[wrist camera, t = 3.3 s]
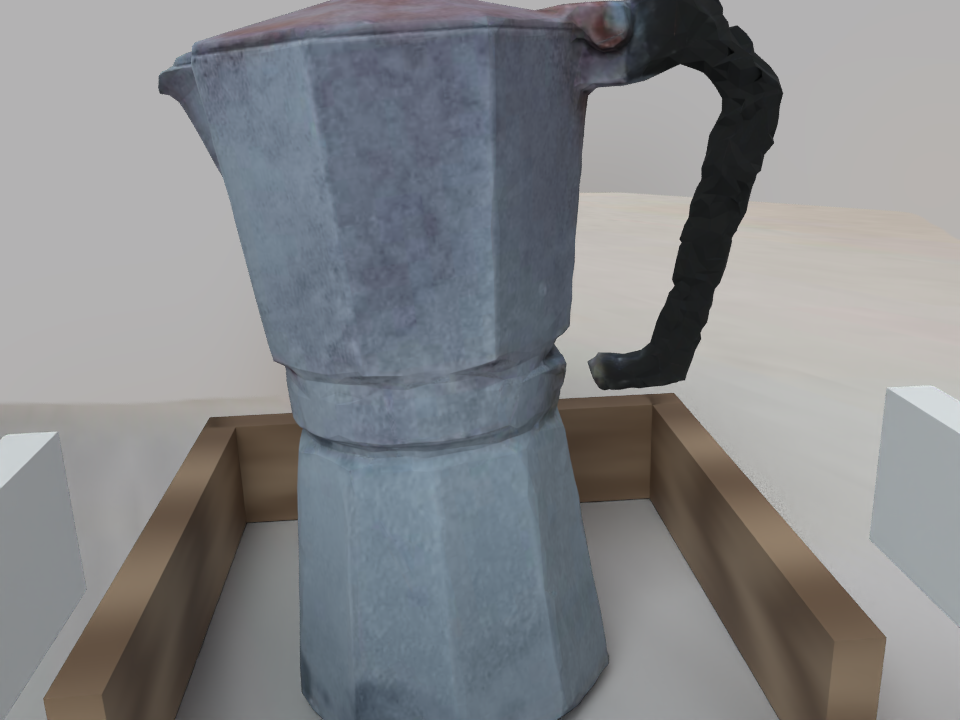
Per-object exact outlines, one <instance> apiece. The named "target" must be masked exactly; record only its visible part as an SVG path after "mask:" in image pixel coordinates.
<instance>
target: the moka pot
mask: <svg viewBox="0 0 960 720" xmlns="http://www.w3.org/2000/svg"><path fill="white" fill-rule="evenodd" d="M679 64H682V65H684V66H687V67H690V68H693V69H696V70H699V71H701V72H703V73H704V74H705V75H706V76H707V77H708V78H709V79H710V80H711V81H712V83H713V84H714V85H715V87H716V89H717V90H718V92H719V94H720V96H721V97H722V112H721V114H720V116H719V118H718V120H717V122H716V124H715V126H714V128H713V129H712V131H711V133H710V135H709V140H708V146H707V152H706V156H705V160H704V162H703V165H702V180H701V182H700V183H699V185H698V186H697V188H696V191H695V193H694V196H693V199H692V201H691V204H690V211H689V218H688V220H687V222H686V223H685V225H684V228H683V231H682V234H681V237H680V241H681V242H682V243H681V245H680V246H679V250H678V255H677V259H676V263H675V268H674V273H673V278H672V280H673V283H674V285H675V286H674V288H673V289H672V290H671V291H670V292H669V295H668V297H667V300H666V303H665V306H664V307H663V309H662V310H661V312H660V315H659V317H658V320H657V322H656V326H655V329H654V332H653V335H652V339H651V342H650V343H649V344H648V345H647V346H645V347H644V348H643V349H642V350H639V351H634V352H630V353H626V354H619V353H598V354H597V355H596V357H594V358H593V359H591V360H589V361H588V365H589V368H590V371H591V374H592V376H593V379H594V381H595V383H596V384H597V386H598V387H599V388H600V389H602V390H608V389H610V390H620V389H626V388H631V387H632V388H645V387H652V386H664V385H668V384H671V383H676V382H678V381H682V380H685V378H686V375H687V372H688V369H689V366H690V364H691V361H692V358H693V355H694V352H695V349H696V348H697V346H698V344H699V342H700V340H701V334H700V332H701V330H702V328H703V327H704V326H705V324H706V323H707V320H708V315H709V310H710V308H711V306H712V301H713V294H714V290H715V288H716V287H717V286H718V284H719V283H720V281H721V278H722V276H723V273H724V270H725V268H726V264H727V260H728V256H729V252H730V247H731V243H732V237H733V235H734V233H735V232H736V231H737V228H738V226H739V224H740V222H741V220H742V219H743V217H744V215H745V213H746V211H747V206H748V201H749V197H750V193H751V189H752V186H753V184H754V181H755V179H756V175H757V173H758V172H760V171H761V167H762V163H763V159H764V154H765V153H766V152H767V151H768V150H769V149H770V147H771V146H772V145H773V144H774V141H773V137H774V134H775V131H776V128H777V124H778V119H779V108H780V103H781V99H782V95H783V92H782V88H781V85H780V82H779V79H778V77H777V75H776V74H775V72H774V71H773V70H772V68H771V67H770V66H769V65H768V64H767V63H766V62H765V61H764V60H763V59H761V58H760V57H759V56H758V55H757V54H756V53H755V52H754V48H753V42H752V41H751V39H750V38H749V36H748V35H747V34H746V33H745V32H744V31H743V30H742V29H741V28H740V27H738V26H733V27H729V24H728V21H727V20H726V19H725V17H724V16H723V7H722V5H721V3H720V2H719V0H624V1H599V2H584V3H572V4H562V5H557V6H553V7H549V8H545V9H540V10H529V9H523V8H518V7H512V6H506V5H499V4H494V3H489V2H483V1H478V0H330V1H327V2H324V3H320V4H317V5H314V6H311V7H307V8H304V9H301V10H298V11H295V12H291V13H288V14H285V15H281V16H278V17H275V18H272V19H269V20H265V21H262V22H259V23H255V24H252V25H249V26H246V27H243V28H239V29H236V30H233V31H230V32H227V33H223V34H220V35H217V36H214V37H211V38H208V39H205V40H201V41H198V42H195V43H194V45H193V46H192V52H189V53H186V54H184V55H182V56H180V57H178V58H176V60H175V62H174V65H173V66H172V67H170V68H169V69H167V70H165V71H162V73H161V74H160V75H159V86H158V88H159V92H160V94H166V95H170V96H171V97H173V98H174V99H176V100H177V101H178V102H179V103H180V104H181V106H182V107H183V108H184V110H185V112H186V113H187V115H188V117H189V118H190V120H191V122H192V123H193V125H194V127H195V128H196V130H197V132H198V134H199V136H200V137H201V139H202V141H203V143H204V145H205V146H206V148H207V150H208V152H209V154H210V156H211V157H212V159H213V161H214V163H215V164H216V166H217V168H218V170H219V171H220V173H221V175H222V177H223V179H224V182H225V186H226V189H227V192H228V195H229V199H230V202H231V206H232V210H233V214H234V219H235V223H236V227H237V231H238V234H239V238H240V242H241V245H242V249H243V253H244V256H245V260H246V264H247V268H248V272H249V275H250V279H251V283H252V287H253V290H254V294H255V298H256V302H257V305H258V309H259V313H260V316H261V320H262V323H263V327H264V331H265V334H266V338H267V341H268V344H269V348H270V351H271V354H272V357H273V360H274V361H275V362H277V363H280V364H282V365H284V366H285V368H286V375H287V376H286V377H287V386H288V391H289V397H290V402H291V408H292V413H293V418H294V419H295V421H296V423H297V424H298V425H299V426H300V427H301V428H303V430H302V433H301V437H300V444H299V456H298V483H297V495H298V535H299V598H300V672H301V687H302V693H303V695H304V696H305V698H306V699H307V701H308V702H309V704H310V705H311V707H312V709H313V710H314V711H315V712H316V713H317V714H319V715H320V716H321V717H322V718H323V719H324V720H558V719H559V718H560V717H562V716H563V715H565V714H566V713H568V712H569V711H571V710H572V709H573V708H575V707H576V706H577V705H578V704H579V703H580V702H581V700H582V698H583V697H584V696H585V695H586V693H587V692H588V691H589V690H590V689H591V687H592V686H593V685H594V684H595V682H596V680H597V678H598V677H599V675H600V674H601V672H602V670H603V669H604V668H605V667H606V666H607V665H608V663H609V655H608V653H607V649H606V640H605V634H604V629H603V623H602V617H601V611H600V606H599V602H598V597H597V592H596V588H595V583H594V578H593V574H592V569H591V563H590V558H589V553H588V547H587V542H586V537H585V532H584V526H583V521H582V516H581V508H580V500H579V494H578V490H577V486H576V482H575V478H574V474H573V469H572V464H571V459H570V454H569V449H568V443H567V437H566V432H565V427H564V425H563V422H562V419H561V417H560V414H559V411H558V408H557V405H558V401H559V395H560V389H561V387H562V385H563V382H564V377H565V372H566V362H565V359H564V357H563V355H562V354H561V353H560V352H559V350H558V349H557V347H556V346H555V345H554V343H555V341H556V339H557V338H558V337H559V336H560V335H562V334H563V333H564V332H565V331H566V330H567V328H568V327H569V326H570V310H571V302H572V277H573V270H574V262H575V235H576V224H577V213H578V202H579V184H580V176H581V168H582V147H583V137H584V125H585V115H586V107H587V99H588V95H589V94H590V93H591V92H592V91H593V90H594V89H596V88H598V87H609V86H623V85H628V84H632V83H636V82H641V81H645V80H647V79H649V78H651V77H654V76H656V75H658V74H660V73H662V72H664V71H666V70H668V69H670V68H672V67H675V66H677V65H679Z"/></svg>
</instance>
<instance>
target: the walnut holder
mask: <svg viewBox="0 0 960 720" xmlns="http://www.w3.org/2000/svg"><path fill="white" fill-rule="evenodd" d="M557 408H558V411H559V414H560V417H561V419H562V422H563V425H564V427H565V432H566V437H567V443H568V449H569V454H570V459H571V464H572V469H573V474H574V478H575V482H576V486H577V490H578V494H579V500H580V502H593V501H609V500H625V499H642V498H650V500H651V502H652V503H653V505H654V507H655V508H656V510H657V512H658V513H659V515H660V517H661V519H662V520H663V522H664V524H665V525H666V527H667V529H668V530H669V532H670V534H671V536H672V537H673V539H674V541H675V542H676V544H677V546H678V547H679V549H680V551H681V553H682V554H683V556H684V558H685V559H686V561H687V563H688V564H689V566H690V568H691V570H692V571H693V573H694V575H695V576H696V578H697V580H698V581H699V583H700V585H701V586H702V588H703V590H704V592H705V593H706V595H707V597H708V598H709V600H710V602H711V603H712V605H713V607H714V609H715V610H716V612H717V614H718V615H719V617H720V619H721V620H722V622H723V624H724V626H725V627H726V629H727V631H728V632H729V634H730V636H731V637H732V639H733V641H734V643H735V644H736V646H737V648H738V649H739V651H740V653H741V654H742V656H743V658H744V660H745V661H746V663H747V665H748V666H749V668H750V670H751V671H752V673H753V675H754V677H755V678H756V680H757V682H758V683H759V685H760V687H761V688H762V690H763V692H764V694H765V695H766V697H767V699H768V700H769V702H770V704H771V705H772V707H773V709H774V711H775V712H776V714H777V716H778V717H779V719H780V720H876V716H877V708H878V700H879V692H880V684H881V676H882V668H883V660H884V652H885V644H886V637H885V635H884V634H883V633H882V632H881V631H880V630H879V629H878V627H877V626H876V625H875V624H874V623H873V622H872V620H871V619H870V618H869V617H868V616H867V615H866V614H865V612H864V611H863V610H862V609H861V608H860V607H859V606H858V604H857V603H856V602H855V601H854V600H853V599H852V597H851V596H850V595H849V594H848V593H847V592H846V591H845V589H844V588H843V587H842V586H841V585H840V584H839V582H838V581H837V580H836V579H835V578H834V577H833V576H832V574H831V573H830V572H829V571H828V570H827V569H826V568H825V566H824V565H823V564H822V563H821V562H820V561H819V559H818V558H817V557H816V556H815V555H814V554H813V553H812V551H811V550H810V549H809V548H808V547H807V546H806V544H805V543H804V542H803V541H802V540H801V539H800V538H799V536H798V535H797V534H796V533H795V532H794V531H793V530H792V528H791V527H790V526H789V525H788V524H787V523H786V521H785V520H784V519H783V518H782V517H781V516H780V515H779V513H778V512H777V511H776V510H775V509H774V508H773V507H772V505H771V504H770V503H769V502H768V501H767V500H766V498H765V497H764V496H763V495H762V494H761V493H760V492H759V490H758V489H757V488H756V487H755V486H754V485H753V483H752V482H751V481H750V480H749V479H748V478H747V477H746V475H745V474H744V473H743V472H742V471H741V470H740V469H739V467H738V466H737V465H736V464H735V463H734V462H733V460H732V459H731V458H730V457H729V456H728V455H727V454H726V452H725V451H724V450H723V449H722V448H721V447H720V445H719V444H718V443H717V442H716V441H715V440H714V439H713V437H712V436H711V435H710V434H709V433H708V432H707V431H706V429H705V428H704V427H703V426H702V425H701V424H700V422H699V421H698V420H697V419H696V418H695V417H694V416H693V414H692V413H691V412H690V411H689V410H688V409H687V408H686V406H685V405H684V404H683V403H682V402H681V401H680V399H679V398H678V397H677V396H676V395H675V394H674V393H664V394H645V395H626V396H607V397H588V398H569V399H559V401H558V405H557ZM302 430H303V428H301V427H300V426H299V425H298V424H297V423H296V421H295V419H294V418H293V413H285V414H266V415H247V416H228V417H210V418H209V420H208V421H207V423H206V425H205V427H204V428H203V430H202V432H201V433H200V435H199V437H198V438H197V440H196V442H195V443H194V445H193V447H192V448H191V450H190V452H189V454H188V455H187V457H186V459H185V460H184V462H183V464H182V465H181V467H180V469H179V470H178V472H177V474H176V475H175V477H174V479H173V481H172V482H171V484H170V486H169V487H168V489H167V491H166V492H165V494H164V496H163V497H162V499H161V501H160V503H159V504H158V506H157V508H156V509H155V511H154V513H153V514H152V516H151V518H150V519H149V521H148V523H147V524H146V526H145V528H144V530H143V531H142V533H141V535H140V536H139V538H138V540H137V541H136V543H135V545H134V546H133V548H132V550H131V551H130V553H129V555H128V557H127V558H126V560H125V562H124V563H123V565H122V567H121V568H120V570H119V572H118V573H117V575H116V577H115V579H114V580H113V582H112V584H111V585H110V587H109V589H108V590H107V592H106V594H105V595H104V597H103V599H102V600H101V602H100V604H99V606H98V607H97V609H96V611H95V612H94V614H93V616H92V617H91V619H90V621H89V622H88V624H87V626H86V627H85V629H84V631H83V633H82V634H81V636H80V638H79V639H78V641H77V643H76V644H75V646H74V648H73V649H72V651H71V653H70V655H69V656H68V658H67V660H66V661H65V663H64V665H63V666H62V668H61V670H60V671H59V673H58V675H57V676H56V678H55V680H54V682H53V683H52V685H51V687H50V688H49V690H48V692H47V693H46V695H45V697H44V698H43V700H44V705H45V710H46V715H47V719H48V720H175V717H176V714H177V711H178V709H179V706H180V703H181V701H182V698H183V695H184V692H185V690H186V687H187V684H188V681H189V679H190V676H191V673H192V670H193V668H194V665H195V662H196V660H197V657H198V654H199V651H200V649H201V646H202V643H203V640H204V638H205V635H206V632H207V629H208V627H209V624H210V621H211V619H212V616H213V613H214V610H215V608H216V605H217V602H218V599H219V597H220V594H221V591H222V588H223V586H224V583H225V580H226V578H227V575H228V572H229V569H230V567H231V564H232V561H233V558H234V556H235V553H236V550H237V547H238V545H239V542H240V539H241V536H242V534H243V531H244V528H245V526H246V523H247V522H263V521H279V520H296V519H298V495H297V483H298V456H299V444H300V437H301V433H302Z"/></svg>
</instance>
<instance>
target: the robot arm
mask: <svg viewBox="0 0 960 720" xmlns="http://www.w3.org/2000/svg"><path fill="white" fill-rule="evenodd" d="M869 539H870V540H871V541H872V542H873V543H874V544H875V545H876V546H877V547H878V548H879V549H880V550H881V551H882V552H883V553H884V554H885V555H886V556H887V557H888V558H889V559H890V560H891V561H892V562H893V563H894V564H895V565H896V566H897V567H898V568H899V569H900V570H901V571H902V572H903V573H904V574H905V575H906V576H907V577H908V578H909V579H910V580H911V581H912V582H913V583H914V584H916V585H917V586H918V587H919V588H920V589H921V590H922V591H923V592H924V593H925V594H926V595H927V596H928V597H929V598H930V599H931V600H932V601H933V602H934V603H935V604H936V605H937V606H938V607H939V608H940V609H941V610H942V611H943V612H944V613H945V614H946V615H947V616H948V617H949V618H950V619H951V620H952V621H953V622H954V623H955V624H956V625H957V626H958V627H959V628H960V401H959V400H957V399H955V398H953V397H952V396H950V395H948V394H946V393H945V392H943V391H941V390H939V389H938V388H936V387H934V386H932V385H926V386H907V387H888V388H887V389H886V397H885V406H884V415H883V424H882V432H881V441H880V450H879V459H878V468H877V476H876V485H875V494H874V503H873V511H872V520H871V529H870V538H869ZM86 590H87V589H86V583H85V578H84V572H83V567H82V561H81V556H80V550H79V545H78V539H77V534H76V528H75V522H74V517H73V511H72V506H71V500H70V495H69V489H68V484H67V478H66V473H65V467H64V461H63V456H62V450H61V445H60V439H59V434H58V432H39V433H20V434H6V435H5V436H4V437H3V438H2V439H0V720H4V719H5V717H6V716H7V714H8V712H9V711H10V709H11V708H12V706H13V705H14V703H15V701H16V700H17V698H18V697H19V695H20V694H21V692H22V690H23V689H24V687H25V686H26V684H27V683H28V681H29V679H30V678H31V676H32V675H33V673H34V672H35V670H36V668H37V667H38V665H39V664H40V662H41V661H42V659H43V657H44V656H45V654H46V653H47V651H48V650H49V648H50V646H51V645H52V643H53V642H54V640H55V639H56V637H57V635H58V634H59V632H60V631H61V629H62V628H63V626H64V624H65V623H66V621H67V620H68V618H69V617H70V615H71V613H72V612H73V610H74V609H75V607H76V606H77V604H78V602H79V601H80V599H81V598H82V596H83V595H84V593H85V591H86Z"/></svg>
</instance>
